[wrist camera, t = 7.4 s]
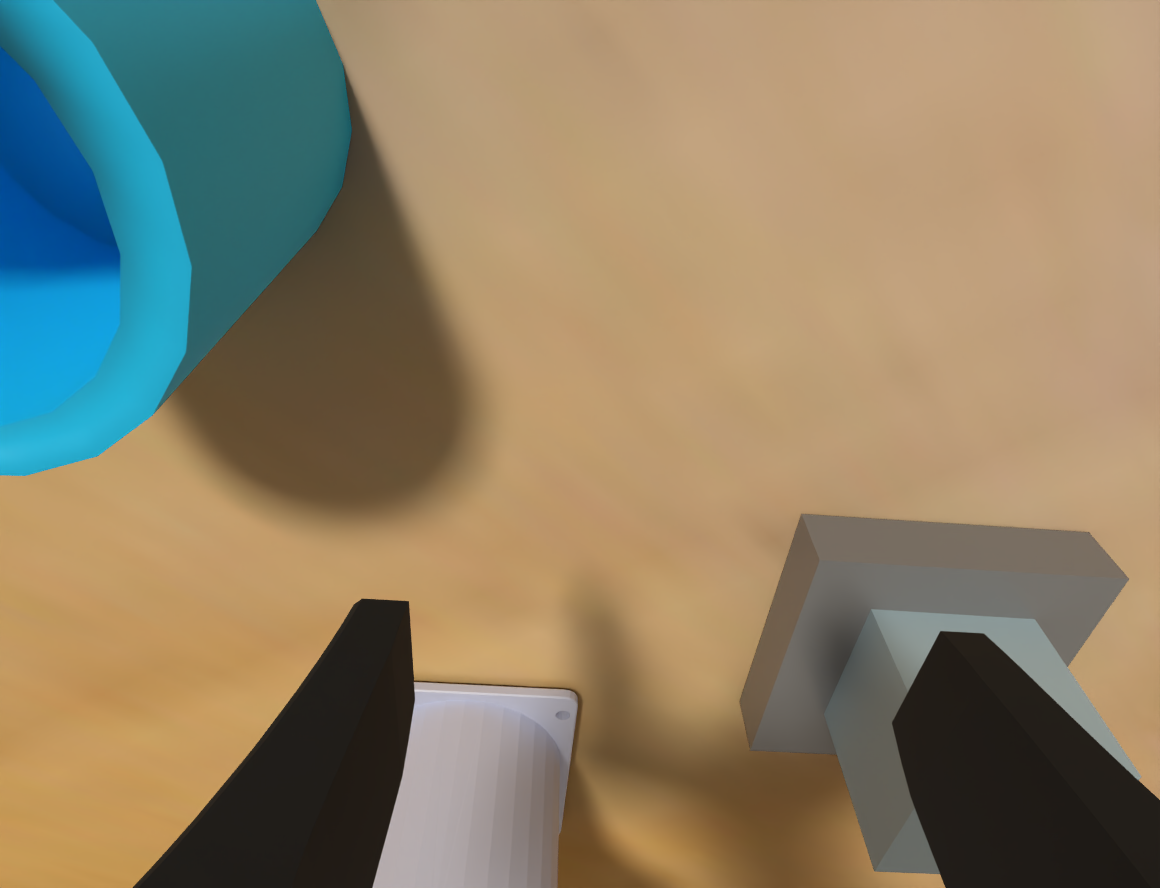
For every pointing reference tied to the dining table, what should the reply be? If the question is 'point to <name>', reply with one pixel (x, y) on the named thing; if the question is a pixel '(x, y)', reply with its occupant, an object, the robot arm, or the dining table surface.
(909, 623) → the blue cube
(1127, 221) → the dining table surface
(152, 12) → the mug
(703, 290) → the dining table surface
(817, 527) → the slate base
